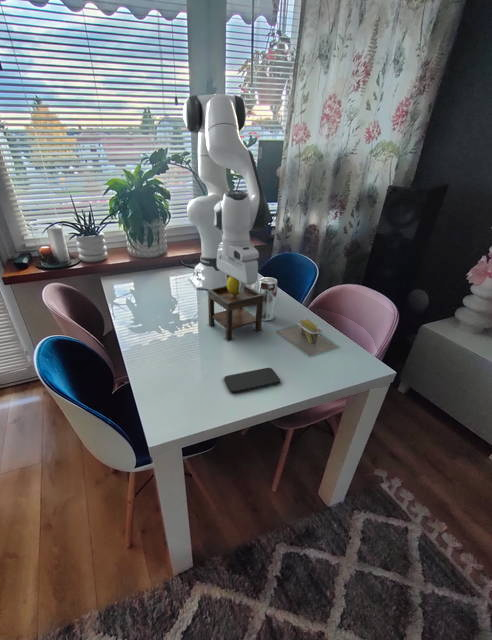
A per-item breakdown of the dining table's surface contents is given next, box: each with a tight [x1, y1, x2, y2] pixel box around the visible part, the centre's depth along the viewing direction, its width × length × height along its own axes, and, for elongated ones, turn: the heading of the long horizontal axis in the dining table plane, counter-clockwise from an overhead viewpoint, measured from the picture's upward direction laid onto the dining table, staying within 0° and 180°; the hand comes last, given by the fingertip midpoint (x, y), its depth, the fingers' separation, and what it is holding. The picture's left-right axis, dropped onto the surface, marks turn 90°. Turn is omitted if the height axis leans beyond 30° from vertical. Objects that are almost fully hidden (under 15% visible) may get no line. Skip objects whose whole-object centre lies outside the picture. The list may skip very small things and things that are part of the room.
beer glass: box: [258, 276, 278, 322], centre depth 123 cm, size 7×7×15 cm
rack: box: [207, 285, 263, 342], centre depth 116 cm, size 14×14×14 cm
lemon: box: [227, 276, 240, 296], centre depth 111 cm, size 6×6×8 cm
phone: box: [223, 367, 281, 394], centre depth 93 cm, size 7×1×15 cm
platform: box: [277, 318, 338, 357], centre depth 111 cm, size 12×18×7 cm, turn 27°
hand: (235, 289), depth 112 cm, fingers closed on lemon, 5 cm apart
